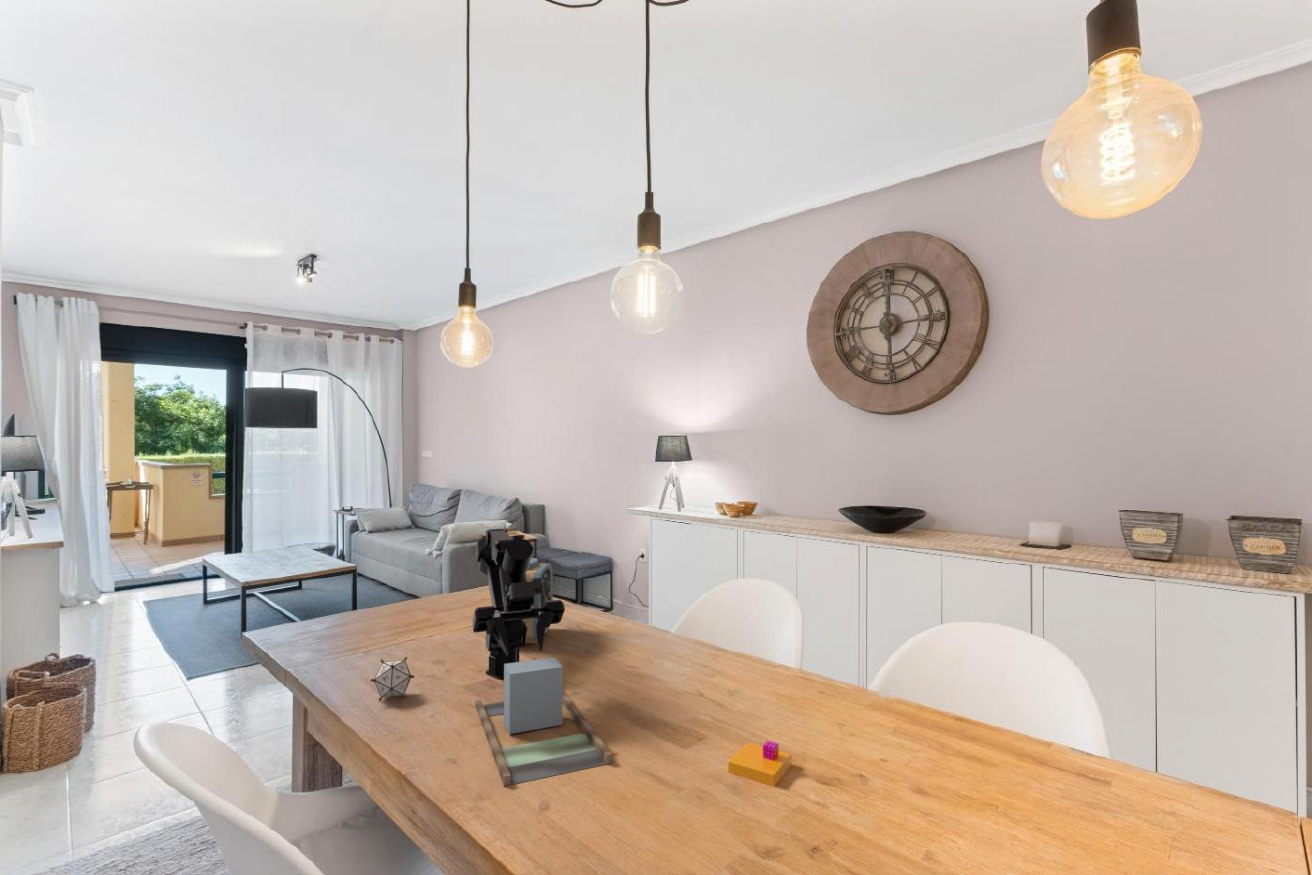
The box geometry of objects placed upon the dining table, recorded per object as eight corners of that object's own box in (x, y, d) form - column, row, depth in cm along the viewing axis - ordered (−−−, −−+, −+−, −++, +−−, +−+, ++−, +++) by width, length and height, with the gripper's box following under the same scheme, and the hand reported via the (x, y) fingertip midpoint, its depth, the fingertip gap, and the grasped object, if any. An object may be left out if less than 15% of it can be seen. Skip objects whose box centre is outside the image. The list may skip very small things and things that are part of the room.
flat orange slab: (774, 789, 97) (773, 762, 97) (727, 774, 101) (727, 748, 101) (791, 767, 104) (791, 741, 104) (747, 754, 108) (747, 730, 108)
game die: (396, 717, 130) (394, 690, 124) (363, 700, 131) (359, 672, 126) (424, 684, 137) (423, 656, 131) (392, 667, 139) (390, 640, 133)
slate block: (503, 720, 119) (504, 663, 120) (554, 712, 123) (554, 657, 124) (509, 734, 114) (510, 674, 114) (562, 724, 118) (562, 666, 118)
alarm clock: (538, 649, 163) (539, 567, 164) (503, 649, 164) (504, 567, 164) (552, 627, 184) (553, 554, 184) (521, 627, 184) (521, 554, 185)
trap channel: (475, 706, 127) (475, 698, 127) (560, 692, 134) (560, 685, 134) (503, 786, 97) (504, 776, 97) (611, 763, 104) (611, 754, 104)
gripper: (474, 568, 127) (482, 637, 117) (562, 562, 135) (576, 626, 124) (469, 598, 134) (476, 665, 124) (553, 591, 142) (566, 653, 131)
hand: (524, 652), depth 126 cm, fingers open, 6 cm apart
